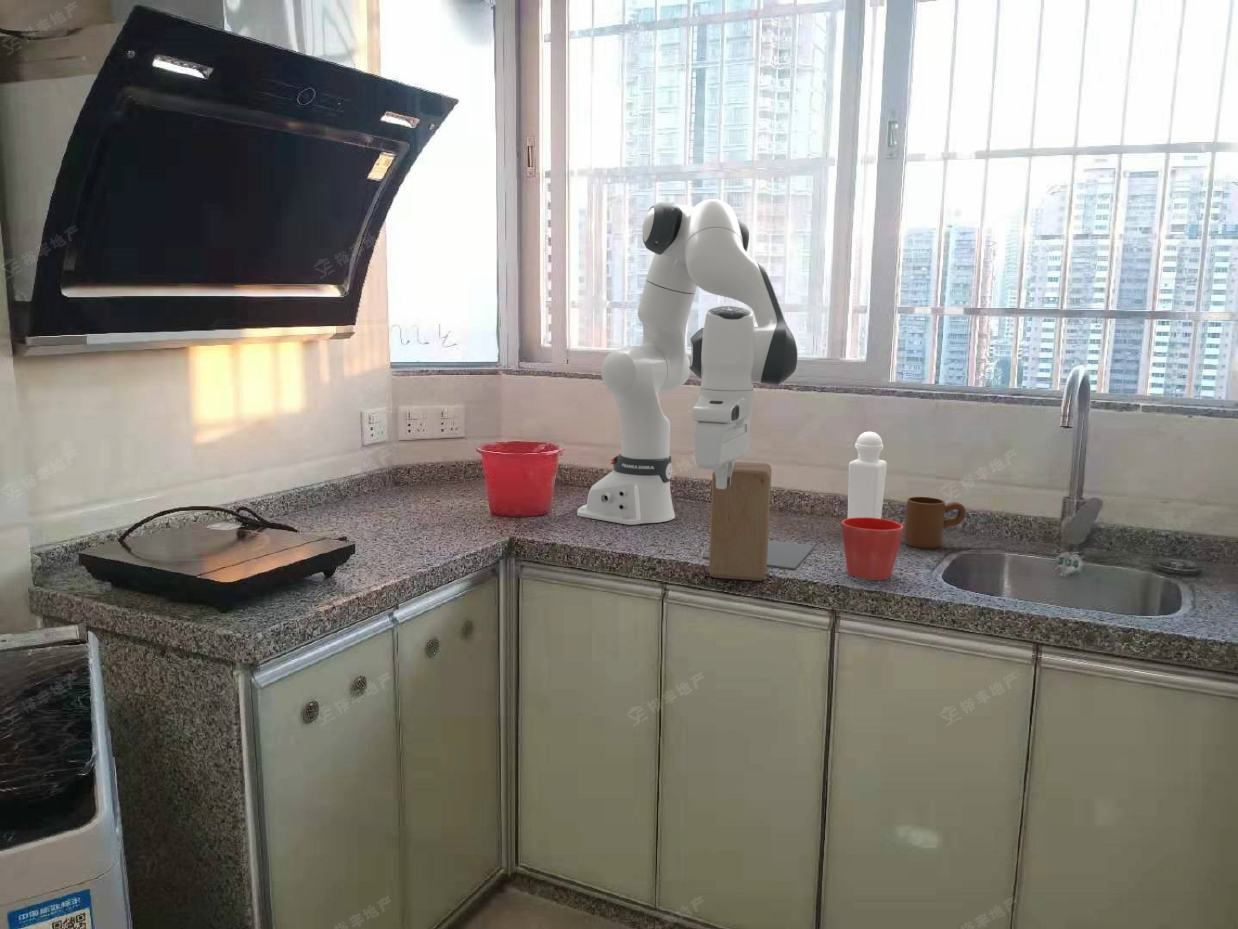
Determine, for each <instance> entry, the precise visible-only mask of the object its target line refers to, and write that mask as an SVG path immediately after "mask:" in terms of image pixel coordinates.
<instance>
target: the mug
mask: <svg viewBox="0 0 1238 929" xmlns="http://www.w3.org/2000/svg"><path fill="white" fill-rule="evenodd" d="M905 508H906V509H905V518H904V519H905V520H904V521H905V522H904V535H903V536H904V537H903V538H904V540H903V541H904V543H905V544H906V545H907V546H910V547H913V548H919V549H927V550H928V549H930V550H931V549H937V548H940V547H941V546H942V545H943V544H942V543H943V537H944V530H946V529H947V528H949V527H955V526H958V525H960V524H961V523H962V522H964V520H965V518H966V513H967V512H966V508H965V506H964V505H963V503H961V502H957V501H952V502H948V503H946V501H945V500H943V499H940V498H937V497H929V496H928V497H927V496H913V497H909V498H907V501H906V507H905ZM953 510H954V511H955V510H957V514H956V515H955V516H954V517H948V518H945V514H946V513H948V512H949V513H950V512H951V511H953Z"/></svg>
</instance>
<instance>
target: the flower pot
mask: <svg viewBox="0 0 1238 929" xmlns="http://www.w3.org/2000/svg"><path fill="white" fill-rule="evenodd" d="M840 525H841V532H842V539H843V540H842V541H843V549H844V558H845V565H846V570H847V574H848V575H850V576H852V577H855V578H858V579H861V580H868V581H869V580H870V581H871V580H872V581H873V580H874V581H880V580H887V579H889V578H890V577H891V576H892V573H893V570H894V565H895V562H896V559H897V556H898V552H899V549H900V546H901V545H900V544H901V540H902V536H903V532H904V525H903V524H902V523H901V522H900V523H899V522H897V521H895V520H891V519H886V518H881V519H880V518H869V517H860V518H848V517H847V518H845V519H843V520H842V521H841V524H840Z"/></svg>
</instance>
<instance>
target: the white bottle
mask: <svg viewBox="0 0 1238 929" xmlns="http://www.w3.org/2000/svg"><path fill="white" fill-rule="evenodd" d="M854 448H855V449H856V452H857V458H856V459H853V460H851V461H850V462H849V464H848V484H847V485H848V487H847V488H848V489H847V495H848V496H847V519H848V518H860V517H869V518H880V519H882V513H883V505H884V494H885V486H886V477H887V476H886V475H887V467H888V462H887V461H886V460H883V459H880V455H881V452H882V451H883V450H884V444H883V439H882V438H881V436H880V435H879V434H878V433H877V432H874V431H865V432H863V433H861V434H859V436H858V437H857V439H856V442H855V443H854Z"/></svg>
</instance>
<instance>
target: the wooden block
mask: <svg viewBox="0 0 1238 929" xmlns="http://www.w3.org/2000/svg"><path fill="white" fill-rule="evenodd" d="M771 483H772V467H771V465H770V464H769V463H764V462H749V461H746V462H745V461H744V462H743V461H734V468H733V472H732V475H731V485H730V486H728V487H727V488H725V489H718V488H716V477H715V473H714V470H713V472H712V475H711V503H710V504H711V505H710V526H709V527H710V531H709V532H710V534H709V551H710V555H709V559H708V563H709V564H708V573H709V576H710V577H712V578H714V579H727V580H728V579H729V580H739V581H740V580H741V581H753V582H761V581H763V580H764V579H765V577H766V574H767V556H768V540H769V532H770V531H769V529H770V511H771V486H772V484H771Z"/></svg>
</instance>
